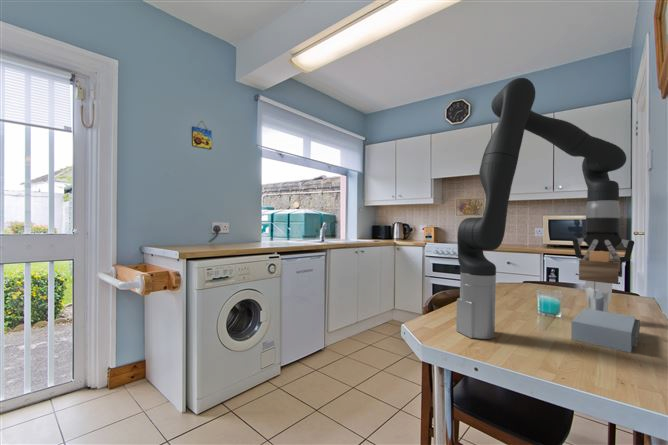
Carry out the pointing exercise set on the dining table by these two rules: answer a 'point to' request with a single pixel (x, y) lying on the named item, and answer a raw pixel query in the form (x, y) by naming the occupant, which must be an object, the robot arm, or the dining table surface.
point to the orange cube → (599, 256)
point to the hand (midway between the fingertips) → (601, 274)
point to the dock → (606, 329)
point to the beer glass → (598, 295)
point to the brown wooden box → (600, 271)
